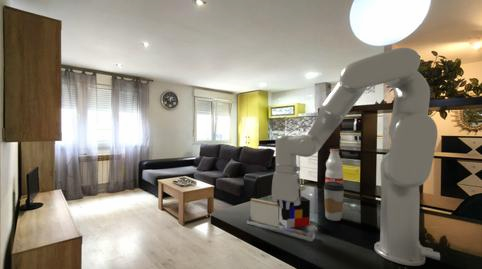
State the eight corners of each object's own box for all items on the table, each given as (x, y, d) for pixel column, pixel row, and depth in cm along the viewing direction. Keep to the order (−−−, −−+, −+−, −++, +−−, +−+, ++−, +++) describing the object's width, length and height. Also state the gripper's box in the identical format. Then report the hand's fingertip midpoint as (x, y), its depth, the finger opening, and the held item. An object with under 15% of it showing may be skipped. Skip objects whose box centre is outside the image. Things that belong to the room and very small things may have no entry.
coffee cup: (346, 218, 98) (347, 183, 98) (339, 223, 92) (340, 186, 92) (327, 213, 104) (328, 180, 104) (319, 218, 98) (320, 183, 98)
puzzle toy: (286, 227, 87) (287, 202, 87) (275, 218, 97) (276, 195, 97) (309, 225, 90) (309, 200, 90) (296, 216, 100) (297, 193, 100)
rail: (314, 237, 79) (315, 229, 79) (311, 241, 76) (311, 232, 76) (251, 220, 94) (251, 213, 94) (246, 223, 91) (246, 216, 91)
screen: (279, 225, 86) (279, 203, 86) (277, 226, 84) (278, 204, 84) (252, 218, 92) (252, 198, 92) (250, 219, 91) (250, 199, 91)
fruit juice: (344, 197, 131) (345, 149, 131) (340, 201, 124) (340, 150, 124) (328, 194, 137) (328, 148, 137) (322, 198, 130) (323, 149, 130)
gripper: (309, 169, 82) (309, 220, 82) (272, 166, 91) (272, 212, 91) (302, 172, 76) (302, 227, 76) (263, 168, 85) (263, 218, 84)
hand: (285, 218), depth 83 cm, fingers closed
